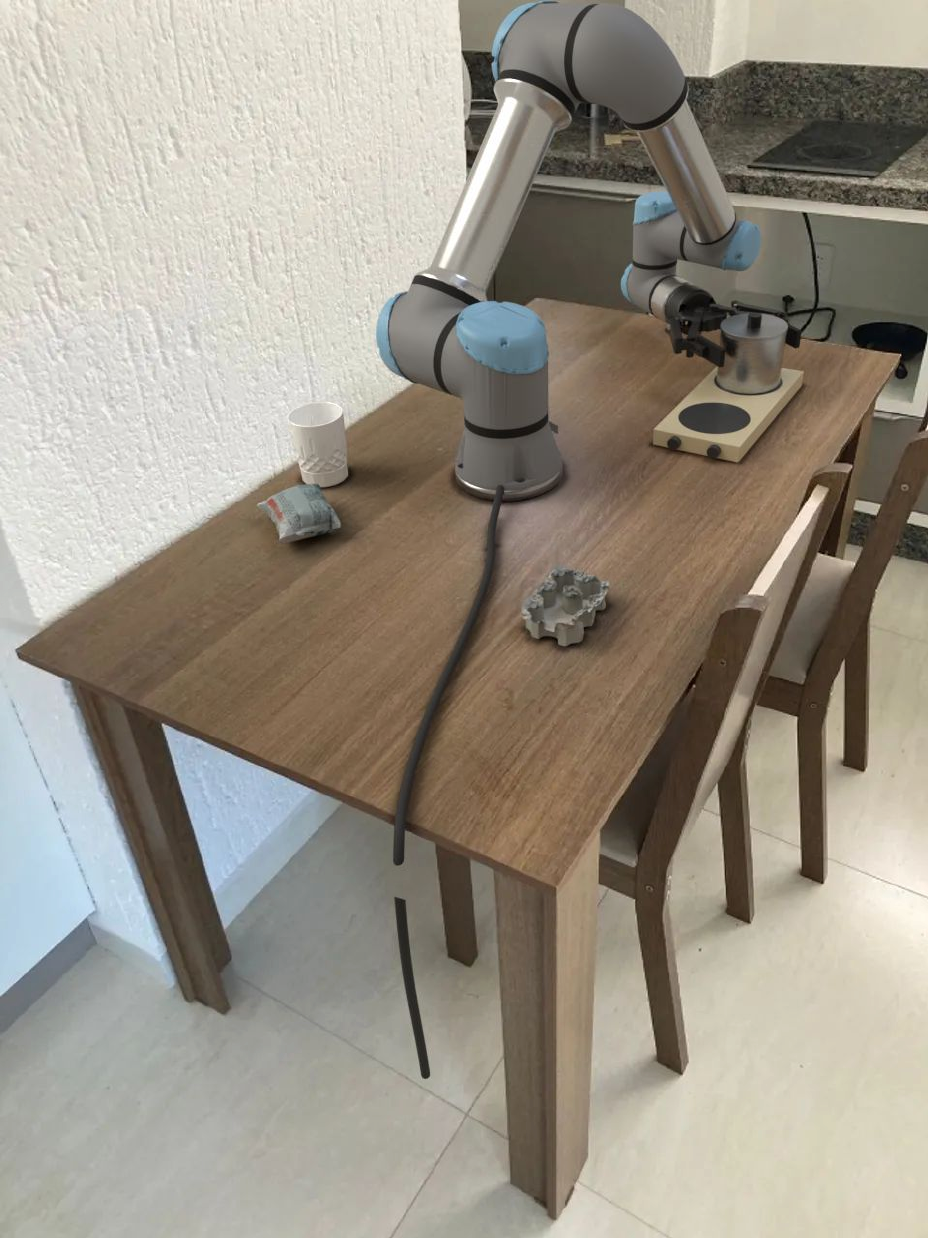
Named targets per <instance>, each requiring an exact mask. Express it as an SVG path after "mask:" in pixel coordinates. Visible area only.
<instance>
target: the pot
mask: <svg viewBox="0 0 928 1238" xmlns="http://www.w3.org/2000/svg"><path fill="white" fill-rule="evenodd" d="M787 323H788V322H787V321H786V320H785V321H784V320H783V319H781V318H778V317H775V316H772V315H767V314H760V313H748V314H739V315H734V316H731V317H730V316H727V318H726V319H725V320H723V321H722V323H721V327H720V329H721V330H720V329H719V330H720V334H719V335H720V336H719V346H720V347H722V348H724V349H726V350H725V361H724V367H721V368H719V367H718V370H717V383H718V385H719V386H720V387H722V388H723V389H725V390H728V391H731V392H734V393H740V394H761V393H766V392H769V391H772V390H774V389H776V388H777V387H778V386H779V385H780V380H781V372H782V368H783V363H784V356H785V348H786V343H785V340H786V333H787V330H788V325H787Z"/></svg>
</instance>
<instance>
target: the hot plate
mask: <svg viewBox="0 0 928 1238" xmlns="http://www.w3.org/2000/svg"><path fill="white" fill-rule="evenodd" d="M717 370H718V366H715V367H714V368H713V370H712V371H710V372H709V373H708V374H707V375H706V376H705V378H703V379H702V380H701V381H700V382H699V383H698V384H697V385H696V386H695V387H694V388H693V390H691V391H690V392H689V393H688V394H687V395H686V396H685V397H684V398H683V399H682V400H681V401H680V402H679V404H677V405H676V406H675V407H674V408H673V409H672V411H670V412H669V413H668V414H667V415H666V416H665V417H664V418H663V419H662V420H661V421H660V422H659V423H658V424H657V425H656V426H655V427H654V428H653V432H652V433H653V437H652V445H654V446H659V447H663V448H668V449H669V450H671V451H683V452H686V453H692V454H695V455H696V454H697V455H700V456H705V457H708V458H709V459H718V460H725V461H729V462H734V463H737V464H738V463H740V461H741V460H742V459H743V457H744V456H745V455H746V454H747V453H748V451H749V450H750V449H751V448H752V447H753V445H754V444H755V443H756V442H757V440H758V439H759V438H760V437H761V436H762V435H763V433H764V432H765V431H766V430H767V429H768V427H769V426H770V425H771V424H772V423H773V422H774V420H775V419H776V418H777V416H778V415H779V414H780V413H781V412H782V410H783V409H784V408H785V407H786V406H787V405H788V403H789V402H790V401H791V399H793V398H794V397H795V395H796V393H797V392H798V391H799V390H800V389H801V387H802V386H803V381H804V372H805V371H804V370H799V369H792V368H785V367H782V372H781V380H780V385H779V386H778V387H777V388H776V389H774V390H772V391H769V392H766V393H761V394H740V393H734V392H731V391H728V390H725V389H723V388H722V387H720V386H719V385H718V383H717Z"/></svg>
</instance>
